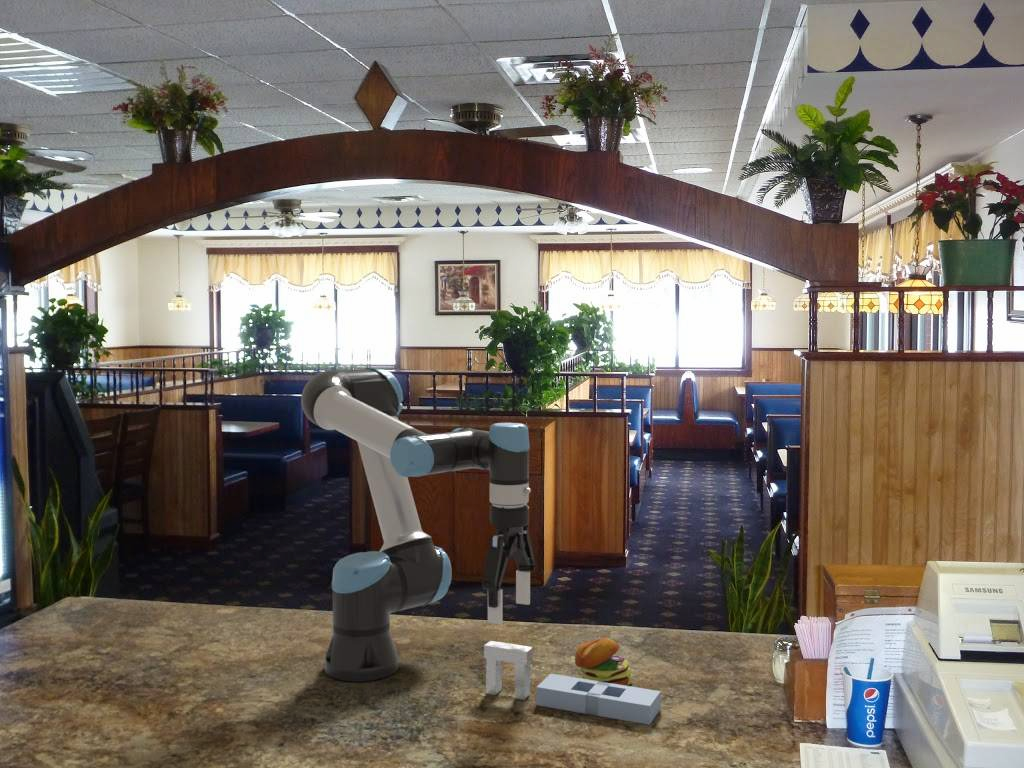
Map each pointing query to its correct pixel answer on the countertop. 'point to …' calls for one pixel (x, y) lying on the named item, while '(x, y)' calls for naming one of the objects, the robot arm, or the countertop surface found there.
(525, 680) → the clip
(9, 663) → the countertop surface
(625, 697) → the rail
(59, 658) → the countertop surface
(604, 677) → the cheeseburger
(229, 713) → the countertop surface
